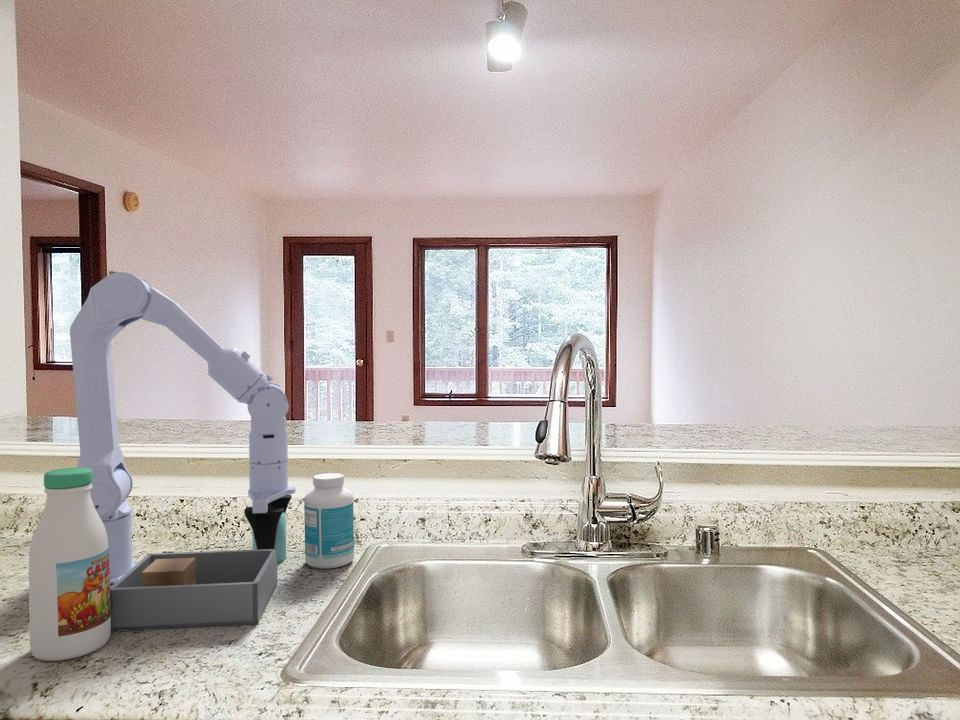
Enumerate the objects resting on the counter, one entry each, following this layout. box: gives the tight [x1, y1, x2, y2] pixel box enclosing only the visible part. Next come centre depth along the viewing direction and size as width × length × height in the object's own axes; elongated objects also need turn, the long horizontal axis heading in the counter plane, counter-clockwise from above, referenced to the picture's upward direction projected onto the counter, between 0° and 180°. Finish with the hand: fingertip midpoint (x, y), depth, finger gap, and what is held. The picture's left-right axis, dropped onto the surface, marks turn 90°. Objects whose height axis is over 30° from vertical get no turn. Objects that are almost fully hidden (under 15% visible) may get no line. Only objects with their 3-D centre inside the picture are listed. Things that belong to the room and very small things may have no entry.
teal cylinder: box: [251, 512, 287, 564], centre depth 103 cm, size 5×5×7 cm
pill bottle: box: [303, 472, 355, 570], centre depth 102 cm, size 8×7×14 cm
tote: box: [110, 549, 278, 632], centre depth 85 cm, size 17×13×5 cm
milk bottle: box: [28, 466, 112, 662], centre depth 74 cm, size 8×8×20 cm
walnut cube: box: [142, 558, 196, 587], centre depth 85 cm, size 5×5×5 cm
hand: (269, 547), depth 104 cm, fingers closed on teal cylinder, 5 cm apart
